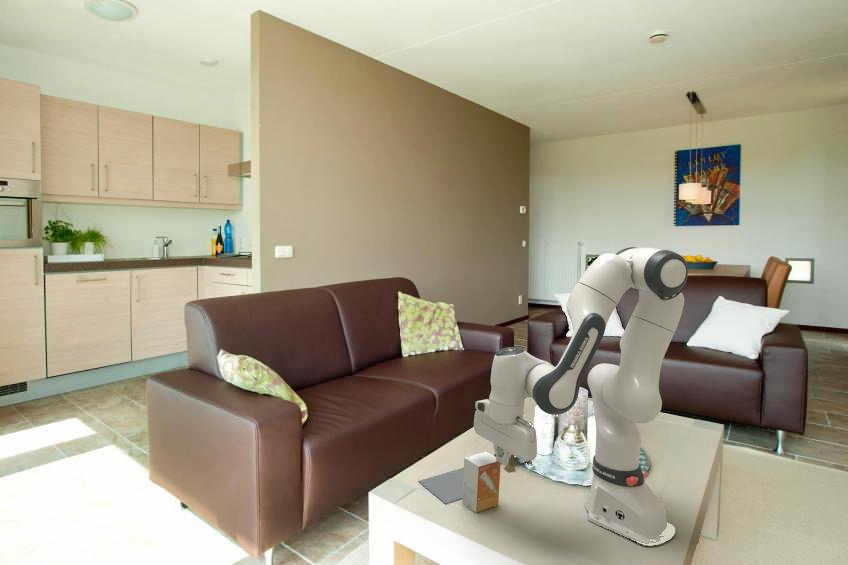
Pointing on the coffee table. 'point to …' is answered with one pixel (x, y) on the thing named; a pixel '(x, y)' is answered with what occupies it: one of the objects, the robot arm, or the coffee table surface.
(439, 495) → the slate mat
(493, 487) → the small box
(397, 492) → the coffee table surface
